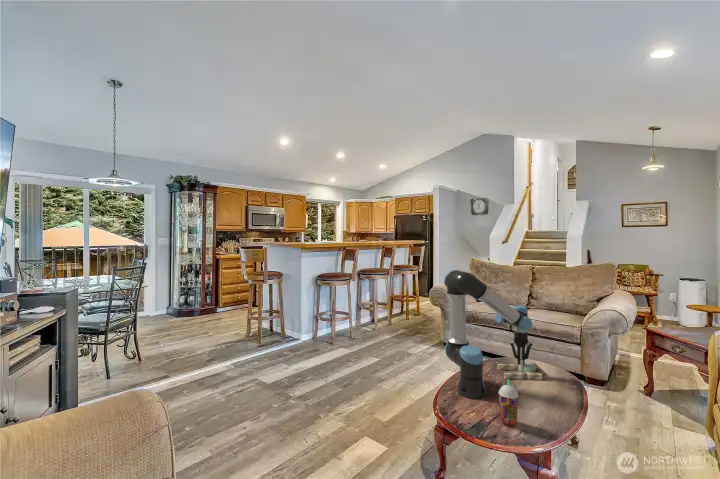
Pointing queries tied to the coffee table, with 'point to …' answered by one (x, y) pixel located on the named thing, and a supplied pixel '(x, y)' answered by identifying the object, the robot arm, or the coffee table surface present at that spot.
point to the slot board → (536, 375)
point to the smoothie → (508, 404)
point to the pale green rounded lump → (528, 367)
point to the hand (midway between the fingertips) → (521, 369)
